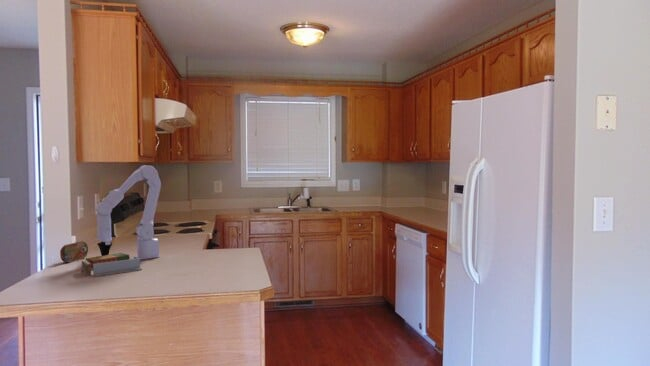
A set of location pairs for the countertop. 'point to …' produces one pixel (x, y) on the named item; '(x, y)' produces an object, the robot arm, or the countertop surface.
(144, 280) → the countertop surface
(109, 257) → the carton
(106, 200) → the robot arm
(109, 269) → the grey long block
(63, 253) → the tin
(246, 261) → the countertop surface
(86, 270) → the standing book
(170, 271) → the countertop surface
